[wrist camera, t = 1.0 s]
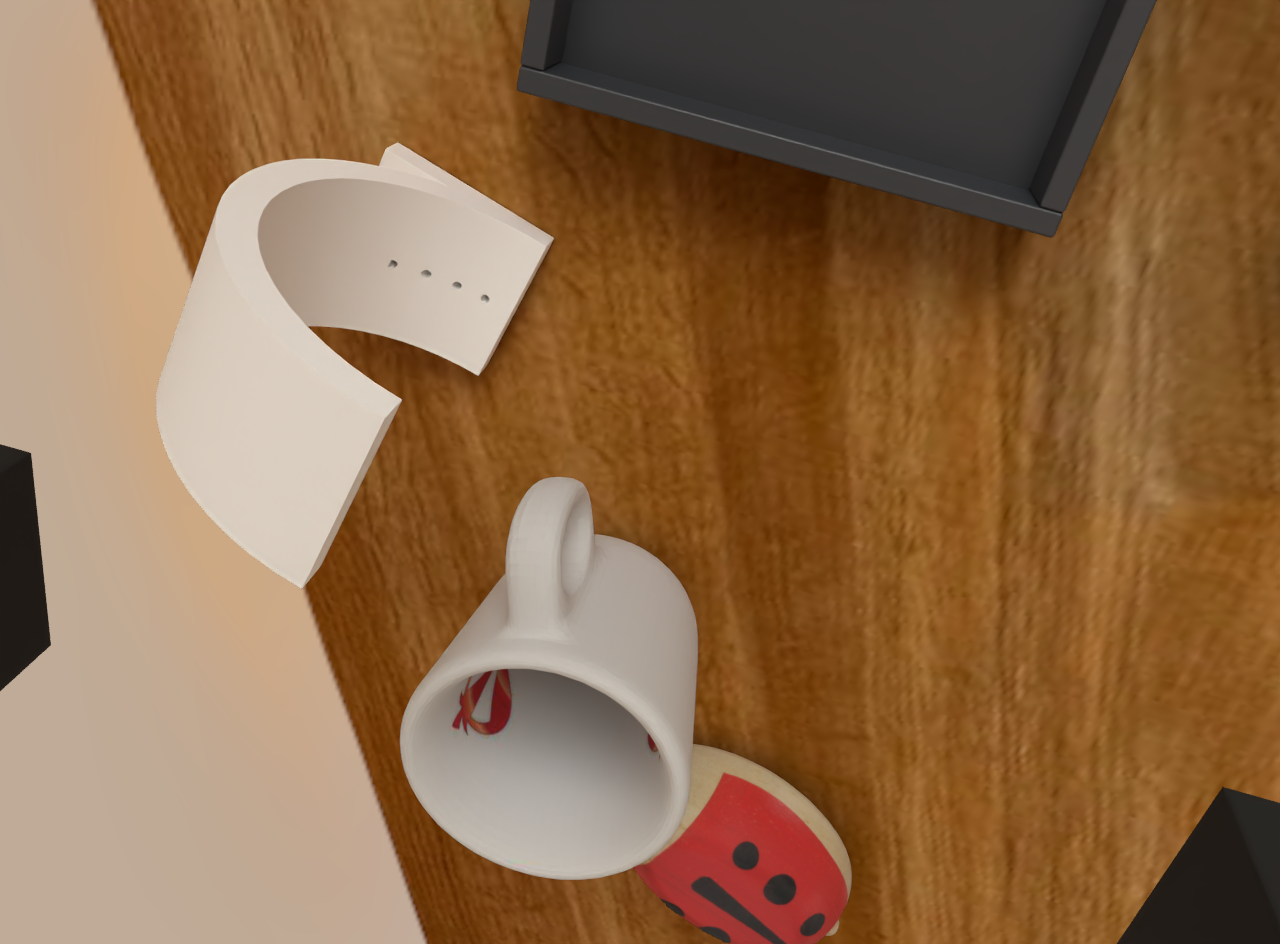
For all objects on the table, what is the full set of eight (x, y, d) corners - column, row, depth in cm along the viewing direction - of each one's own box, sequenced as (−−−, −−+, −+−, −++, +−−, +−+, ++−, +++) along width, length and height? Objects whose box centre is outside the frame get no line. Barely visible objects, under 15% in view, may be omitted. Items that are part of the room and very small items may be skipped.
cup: (459, 415, 33) (350, 551, 26) (716, 420, 31) (675, 567, 24) (502, 692, 37) (421, 869, 30) (725, 708, 36) (693, 898, 29)
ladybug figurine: (684, 695, 36) (668, 768, 33) (904, 849, 37) (908, 933, 34) (577, 797, 39) (553, 872, 36) (783, 935, 41) (777, 1019, 38)
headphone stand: (487, 366, 32) (301, 590, 21) (309, 259, 31) (28, 435, 21) (556, 237, 29) (386, 418, 19) (365, 120, 29) (81, 239, 18)
